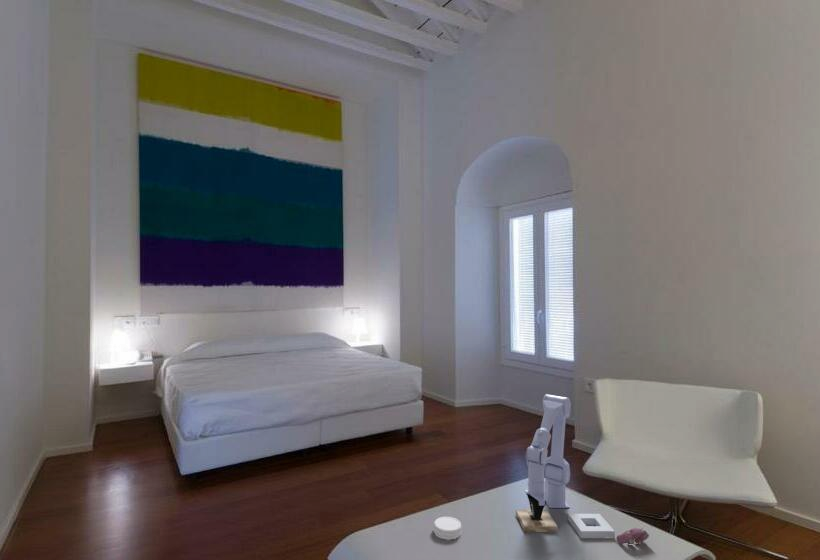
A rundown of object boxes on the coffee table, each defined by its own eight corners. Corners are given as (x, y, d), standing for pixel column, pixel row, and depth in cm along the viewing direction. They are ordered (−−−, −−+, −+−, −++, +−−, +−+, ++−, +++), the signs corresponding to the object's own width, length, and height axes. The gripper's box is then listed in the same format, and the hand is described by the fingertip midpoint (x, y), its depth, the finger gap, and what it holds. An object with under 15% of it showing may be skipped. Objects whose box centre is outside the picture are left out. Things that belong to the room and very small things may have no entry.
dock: (568, 520, 167) (568, 513, 167) (599, 520, 167) (599, 513, 167) (581, 538, 155) (581, 531, 155) (614, 538, 155) (614, 531, 155)
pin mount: (515, 514, 170) (515, 509, 170) (546, 514, 171) (546, 509, 171) (524, 532, 158) (524, 526, 158) (557, 532, 159) (557, 526, 159)
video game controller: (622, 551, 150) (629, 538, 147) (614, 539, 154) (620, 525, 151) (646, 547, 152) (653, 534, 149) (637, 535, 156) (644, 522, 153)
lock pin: (529, 520, 166) (529, 502, 166) (539, 520, 166) (539, 502, 166) (532, 525, 163) (532, 506, 163) (542, 525, 163) (542, 506, 163)
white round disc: (460, 542, 152) (460, 532, 152) (431, 538, 154) (431, 528, 154) (462, 527, 162) (462, 517, 162) (435, 523, 164) (435, 514, 164)
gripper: (520, 471, 172) (520, 506, 172) (531, 487, 157) (531, 526, 157) (538, 471, 172) (538, 506, 172) (550, 488, 158) (550, 526, 157)
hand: (536, 515), depth 165 cm, fingers closed on lock pin, 3 cm apart
